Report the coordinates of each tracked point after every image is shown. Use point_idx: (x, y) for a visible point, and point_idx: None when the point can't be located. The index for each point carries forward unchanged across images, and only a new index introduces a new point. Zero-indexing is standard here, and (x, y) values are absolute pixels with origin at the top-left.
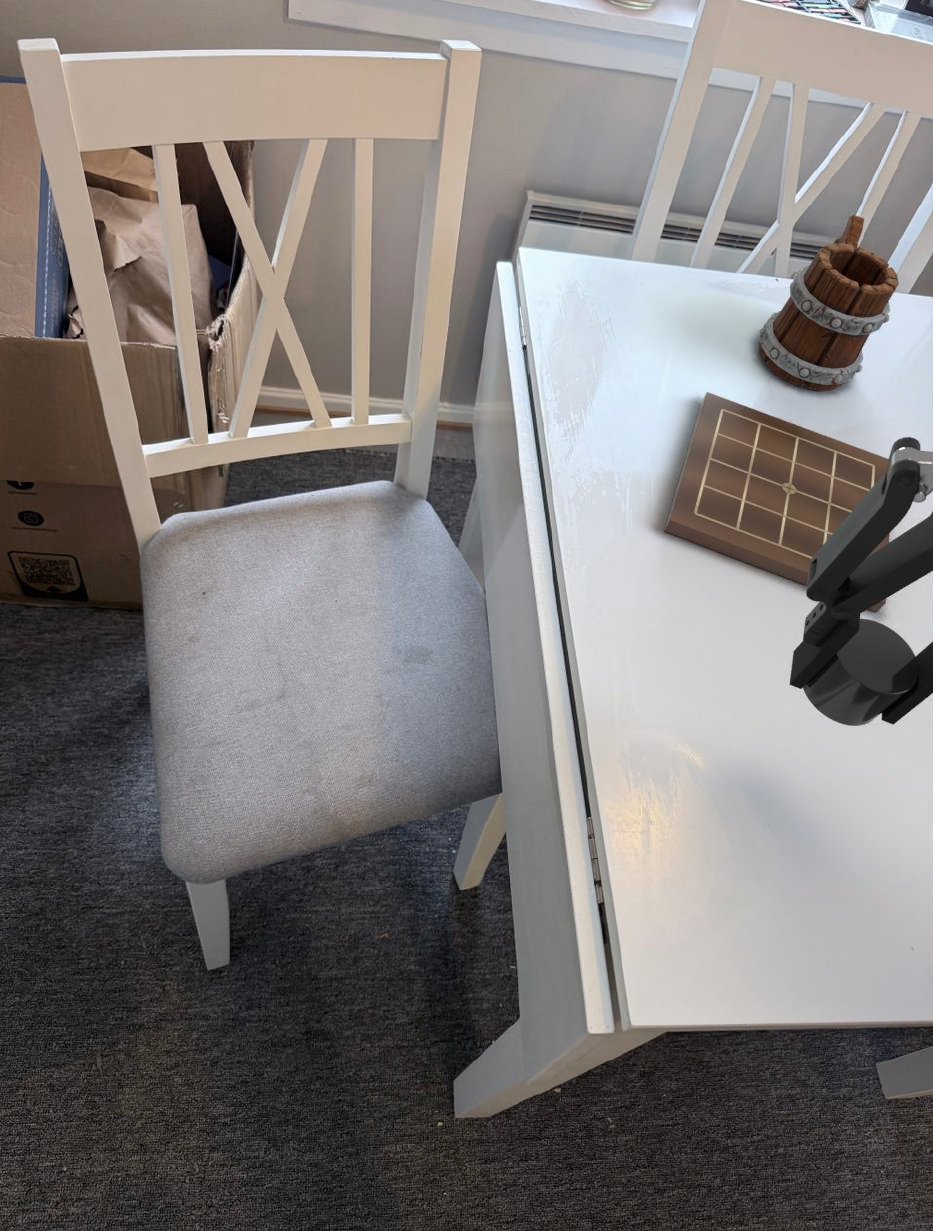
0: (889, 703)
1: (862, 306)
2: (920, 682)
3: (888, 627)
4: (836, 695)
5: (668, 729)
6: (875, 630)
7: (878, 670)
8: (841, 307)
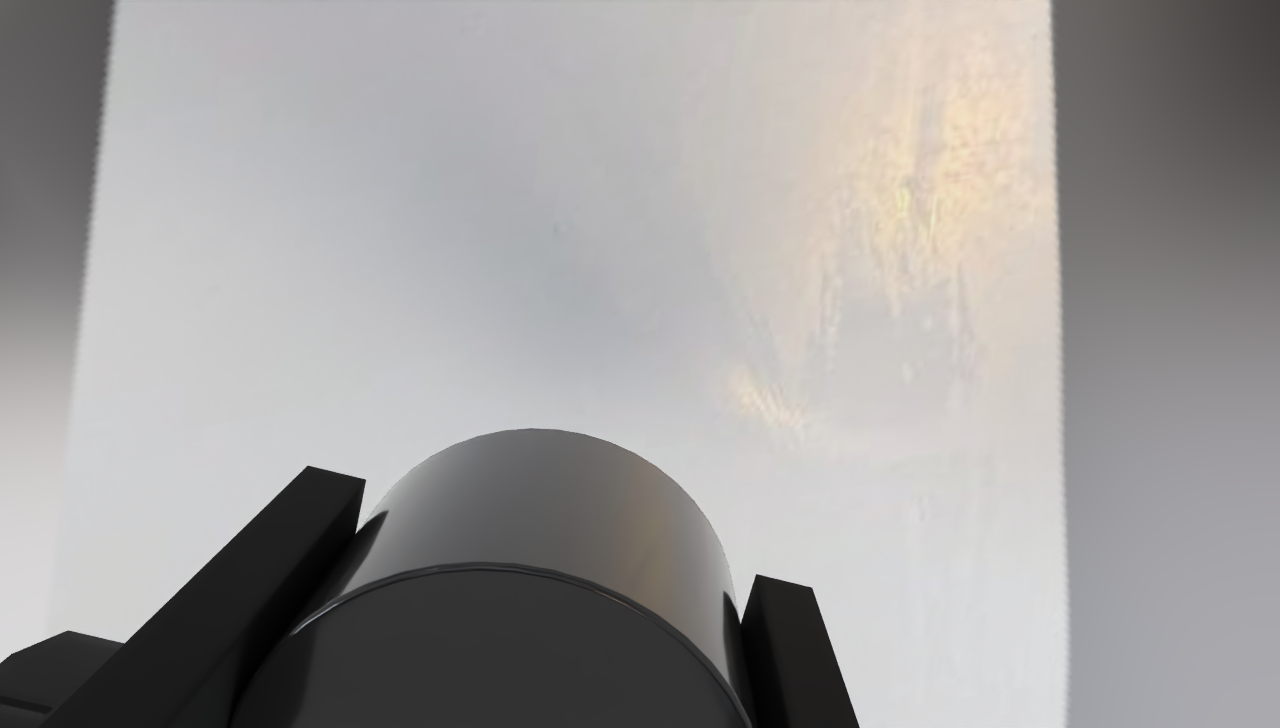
0: (399, 529)
1: None
2: (227, 680)
3: None
4: (673, 541)
5: (824, 472)
6: None
7: (500, 717)
8: None
